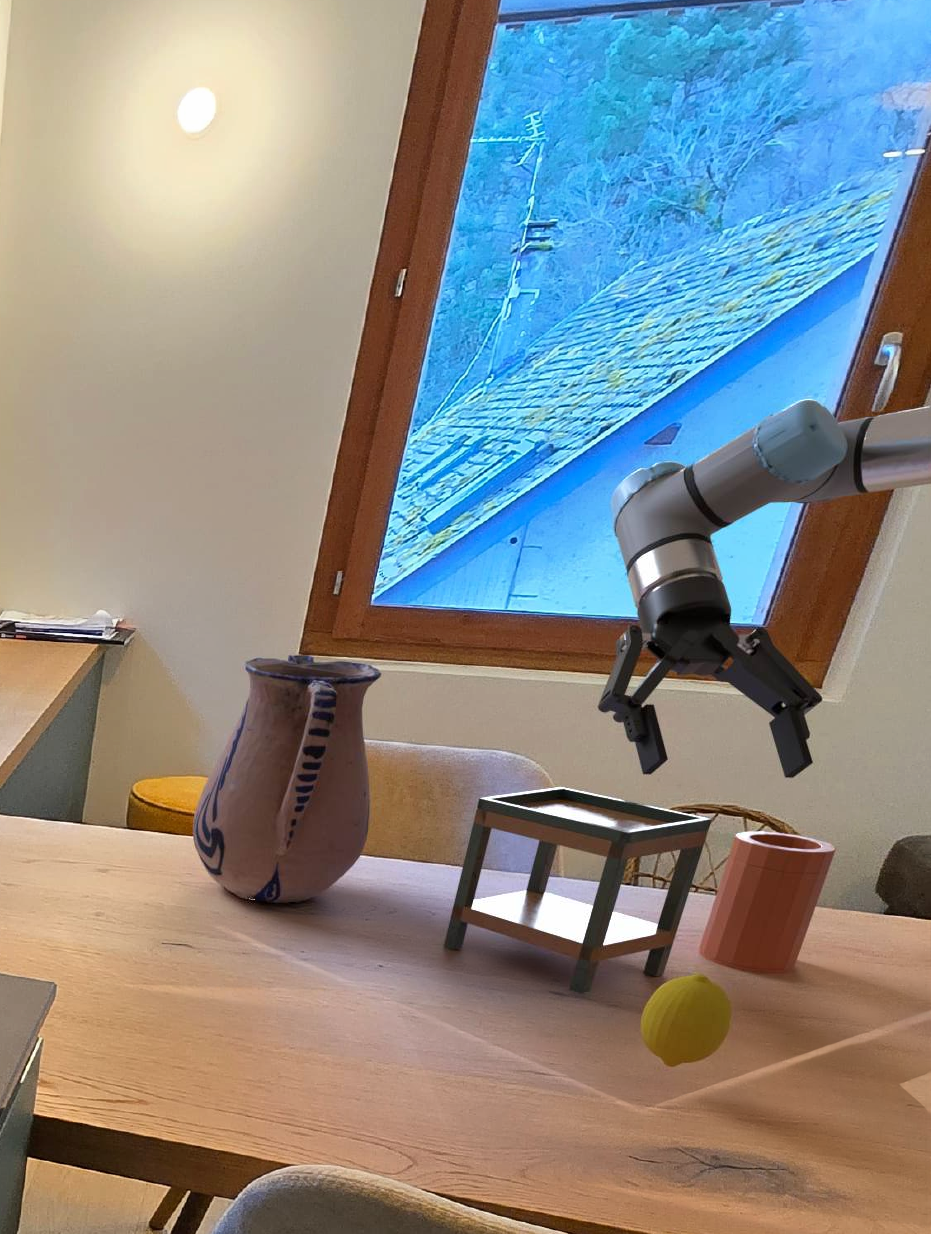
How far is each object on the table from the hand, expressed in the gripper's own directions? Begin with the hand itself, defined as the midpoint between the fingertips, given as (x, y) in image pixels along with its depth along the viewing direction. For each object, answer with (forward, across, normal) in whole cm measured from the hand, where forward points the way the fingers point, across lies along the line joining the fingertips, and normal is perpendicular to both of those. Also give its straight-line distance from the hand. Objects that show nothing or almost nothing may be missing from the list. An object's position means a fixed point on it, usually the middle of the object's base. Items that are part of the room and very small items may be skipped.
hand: (727, 769), depth 130 cm
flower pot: (+19, 0, -4) cm, 20 cm away
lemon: (+38, +22, +14) cm, 46 cm away
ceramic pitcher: (+7, +39, -16) cm, 43 cm away
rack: (+20, +19, -3) cm, 28 cm away
